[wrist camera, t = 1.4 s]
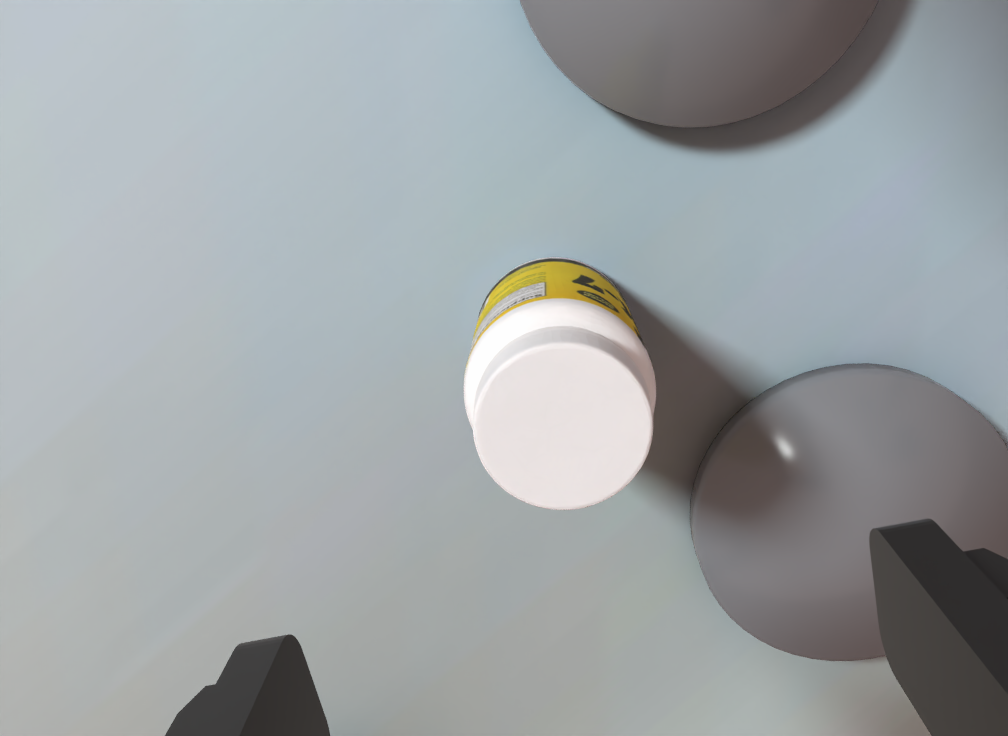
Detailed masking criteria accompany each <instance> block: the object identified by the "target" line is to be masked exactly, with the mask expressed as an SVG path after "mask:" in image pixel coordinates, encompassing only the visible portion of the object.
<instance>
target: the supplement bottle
mask: <svg viewBox="0 0 1008 736" xmlns="http://www.w3.org/2000/svg"><path fill="white" fill-rule="evenodd" d="M464 401H465V408H466V412H467V416H468V419H469V422H470V424H471V427H472V429H473V436H474V442H475V446H476V449H477V452H478V455H479V457H480V460H481V462H482V464H483V465H484V467H485V469H486V470H487V472H488V473H489V474H490V476H491V477H492V478H493V479H494V481H495V482H496V483H497V484H498V485H499V486H500V487H501V488H503V489H504V490H505V491H507V492H508V493H509V494H511V495H512V496H514V497H516V498H518V499H519V500H521V501H523V502H526V503H528V504H531V505H534V506H537V507H542V508H547V509H555V510H572V509H580V508H584V507H588V506H591V505H594V504H597V503H600V502H602V501H604V500H606V499H608V498H610V497H612V496H613V495H615V494H616V493H618V492H619V491H621V490H622V489H623V488H624V487H625V486H626V485H627V484H628V483H630V482H631V480H632V479H633V478H634V477H635V476H636V475H637V473H638V472H639V470H640V469H641V467H642V465H643V464H644V462H645V460H646V458H647V455H648V453H649V449H650V446H651V442H652V437H653V414H654V409H655V403H656V382H655V374H654V369H653V366H652V363H651V359H650V356H649V354H648V352H647V350H646V347H645V345H644V343H643V341H642V339H641V336H640V334H639V331H638V329H637V327H636V325H635V322H634V320H633V318H632V316H631V313H630V311H629V308H628V306H627V304H626V302H625V300H624V298H623V296H622V295H621V293H620V292H619V290H618V289H617V288H616V286H615V285H614V284H613V283H612V282H611V281H610V280H609V279H608V278H607V277H606V276H605V275H603V274H602V273H601V272H599V271H598V270H597V269H595V268H593V267H591V266H589V265H588V264H585V263H583V262H581V261H577V260H574V259H569V258H563V257H547V258H540V259H535V260H532V261H529V262H526V263H523V264H521V265H519V266H517V267H516V268H514V269H512V270H511V271H509V272H508V273H507V274H505V275H504V276H503V277H502V278H501V279H500V280H499V281H498V282H497V283H496V284H495V285H494V286H493V287H492V289H491V290H490V292H489V293H488V295H487V297H486V299H485V301H484V303H483V305H482V308H481V310H480V313H479V317H478V321H477V326H476V329H475V333H474V338H473V342H472V346H471V351H470V355H469V358H468V362H467V365H466V369H465V377H464Z"/></svg>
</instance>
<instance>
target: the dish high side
mask: <svg viewBox="0 0 1008 736" xmlns="http://www.w3.org/2000/svg"><path fill="white" fill-rule="evenodd" d="M877 2H878V0H520V3H521V6H522V8H523V11H524V13H525V15H526V18H527V20H528V23H529V25H530V27H531V29H532V31H533V33H534V34H535V36H536V38H537V40H538V41H539V43H540V45H541V47H542V48H543V50H544V51H545V52H546V54H547V55H548V56H549V58H550V59H551V60H552V62H553V63H554V64H555V66H556V67H557V68H558V69H559V70H560V71H561V72H562V73H563V74H564V75H565V76H566V77H567V78H568V79H569V80H570V81H571V82H572V83H573V84H574V85H575V86H577V87H578V88H579V89H581V90H582V91H583V92H585V93H586V94H587V95H588V96H590V97H591V98H593V99H594V100H596V101H598V102H600V103H601V104H603V105H605V106H607V107H608V108H610V109H612V110H614V111H617V112H619V113H622V114H624V115H627V116H629V117H632V118H635V119H638V120H642V121H646V122H650V123H654V124H658V125H665V126H674V127H683V128H687V127H711V126H717V125H723V124H729V123H734V122H737V121H740V120H744V119H747V118H750V117H754V116H757V115H759V114H761V113H763V112H766V111H768V110H770V109H772V108H775V107H777V106H779V105H781V104H783V103H784V102H786V101H787V100H789V99H791V98H792V97H794V96H796V95H797V94H799V93H801V92H802V91H803V90H805V89H806V88H807V87H809V86H810V85H811V84H812V83H814V82H815V81H816V80H818V79H819V78H820V77H821V76H822V75H824V74H825V73H826V72H827V71H828V70H829V69H830V68H831V67H832V66H833V65H834V64H835V63H836V62H837V61H838V60H839V59H840V58H841V57H842V55H843V54H844V53H845V52H846V50H847V49H848V48H849V47H850V45H851V44H852V43H853V41H854V40H855V39H856V38H857V36H858V35H859V33H860V32H861V30H862V29H863V27H864V25H865V24H866V22H867V21H868V19H869V18H870V16H871V14H872V13H873V11H874V9H875V7H876V4H877Z"/></svg>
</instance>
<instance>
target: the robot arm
mask: <svg viewBox="0 0 1008 736" xmlns="http://www.w3.org/2000/svg"><path fill="white" fill-rule="evenodd" d="M869 545H870V555H871V563H872V572H873V580H874V589H875V597H876V606H877V614H878V623H879V630H880V635H881V640H882V644H883V647H884V651H885V654H886V657H887V659H888V662H889V665H890V667H891V669H892V671H893V673H894V675H895V677H896V679H897V680H898V682H899V684H900V685H901V687H902V689H903V690H904V692H905V693H906V695H907V697H908V698H909V700H910V701H911V703H912V705H913V706H914V708H915V709H916V711H917V713H918V714H919V716H920V718H921V719H922V721H923V722H924V724H925V726H926V727H927V729H928V730H929V732H930V734H931V735H932V736H1008V559H1007V558H1005V557H1002V556H1000V555H998V554H996V553H994V552H992V551H990V550H987V549H985V548H980V549H974V550H969V551H962V550H961V549H960V548H959V547H958V546H957V545H956V544H955V542H954V541H953V540H952V539H951V538H950V537H949V536H948V535H947V534H946V533H945V532H944V531H943V530H942V529H941V528H940V526H939V525H938V524H937V523H936V522H935V521H933V520H932V519H929V518H927V519H922V520H917V521H911V522H906V523H900V524H895V525H889V526H884V527H879V528H873V529H872V530H871V531H870V536H869ZM165 736H330V733H329V728H328V724H327V720H326V717H325V714H324V711H323V709H322V706H321V703H320V700H319V697H318V694H317V691H316V688H315V685H314V683H313V680H312V677H311V674H310V671H309V668H308V665H307V662H306V659H305V657H304V654H303V651H302V648H301V646H300V644H299V642H298V640H297V639H296V638H295V637H294V636H293V635H284V636H278V637H273V638H268V639H262V640H257V641H251V642H246V643H241V644H239V645H238V646H237V647H236V648H235V649H234V651H233V653H232V655H231V657H230V659H229V660H228V662H227V664H226V666H225V668H224V670H223V672H222V674H221V675H220V677H219V679H218V681H217V683H216V684H215V685H209V686H205V687H204V688H203V689H202V690H201V691H200V692H199V693H198V694H197V695H196V696H195V697H194V698H193V699H192V700H191V701H190V702H189V703H188V704H187V705H186V706H185V707H184V708H183V709H182V710H181V711H180V712H179V713H178V714H177V716H176V717H175V719H174V721H173V723H172V724H171V726H170V728H169V730H168V731H167V733H166V735H165Z"/></svg>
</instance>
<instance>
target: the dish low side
mask: <svg viewBox="0 0 1008 736" xmlns="http://www.w3.org/2000/svg"><path fill="white" fill-rule="evenodd" d="M927 518H929V519H932V520H933V521H935V522H936V523H937V524H938V525H939V526H940V528H941V529H942V530H943V531H944V532H945V533H946V534H947V535H948V536H949V537H950V538H951V539H952V540H953V541H954V542H955V544H956V545H957V546H958V547H959V548H960V549H961V550H962V551H969V550H974V549H980V548H985V549H987V550H990V551H992V552H994V553H996V554H998V555H1000V556H1002V557H1005V558H1007V559H1008V449H1007V447H1006V445H1005V443H1004V441H1003V440H1002V439H1001V437H1000V436H999V434H998V433H997V431H996V430H995V428H994V427H993V426H992V425H991V424H990V423H989V422H988V421H987V420H986V419H985V418H984V417H983V416H982V414H981V413H980V412H978V411H977V410H976V409H974V408H973V407H972V406H970V405H969V404H968V403H967V402H965V401H964V400H963V399H961V398H960V397H958V396H957V395H956V394H954V393H953V392H952V391H950V390H949V389H947V388H946V387H944V386H943V385H941V384H939V383H937V382H935V381H934V380H932V379H930V378H928V377H925V376H923V375H920V374H918V373H915V372H912V371H910V370H906V369H902V368H897V367H893V366H888V365H879V364H869V363H866V364H843V365H836V366H829V367H824V368H820V369H816V370H812V371H809V372H805V373H802V374H800V375H797V376H795V377H792V378H790V379H787V380H785V381H783V382H781V383H779V384H777V385H775V386H773V387H772V388H770V389H768V390H766V391H765V392H763V393H762V394H760V395H759V396H757V397H756V398H755V399H753V400H752V401H750V402H749V403H748V404H747V405H745V406H744V407H743V408H742V409H741V410H740V411H739V412H738V413H737V414H735V415H734V416H733V417H732V418H731V420H730V421H729V422H728V423H727V424H726V425H725V426H724V428H723V429H722V430H721V431H720V432H719V434H718V435H717V437H716V438H715V440H714V441H713V443H712V444H711V446H710V447H709V449H708V451H707V453H706V455H705V457H704V459H703V461H702V463H701V465H700V467H699V470H698V473H697V476H696V479H695V482H694V486H693V491H692V497H691V503H690V526H691V535H692V540H693V544H694V548H695V552H696V555H697V558H698V561H699V563H700V566H701V569H702V572H703V574H704V577H705V579H706V581H707V584H708V586H709V588H710V590H711V592H712V593H713V595H714V597H715V598H716V600H717V601H718V603H719V605H720V606H721V607H722V608H723V609H724V610H725V612H726V613H727V614H728V615H729V616H730V618H731V619H733V620H734V621H735V622H736V623H737V624H738V625H739V626H740V627H742V628H743V629H744V630H745V631H747V632H748V633H750V634H751V635H753V636H754V637H756V638H757V639H759V640H760V641H762V642H764V643H766V644H768V645H770V646H772V647H774V648H777V649H779V650H782V651H785V652H788V653H791V654H794V655H798V656H803V657H807V658H812V659H820V660H829V661H854V660H862V659H871V658H876V657H880V656H885V655H886V654H885V651H884V647H883V644H882V640H881V635H880V630H879V623H878V614H877V606H876V597H875V589H874V580H873V572H872V563H871V555H870V545H869V536H870V531H871V530H872V529H873V528H879V527H884V526H889V525H895V524H900V523H906V522H911V521H917V520H922V519H927Z"/></svg>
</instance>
